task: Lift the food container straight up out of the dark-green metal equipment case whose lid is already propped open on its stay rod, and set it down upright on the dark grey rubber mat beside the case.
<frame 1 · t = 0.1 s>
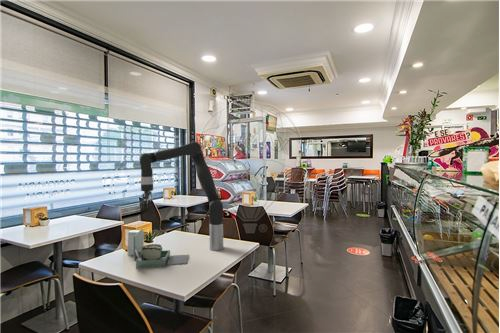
hand: (147, 208, 172), 29 cm above the table, fingers open, 8 cm apart
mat: (178, 260, 158), on the table
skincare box: (135, 254, 170), on the table
food container: (154, 262, 155), resting in case
case: (154, 262, 155), on the table
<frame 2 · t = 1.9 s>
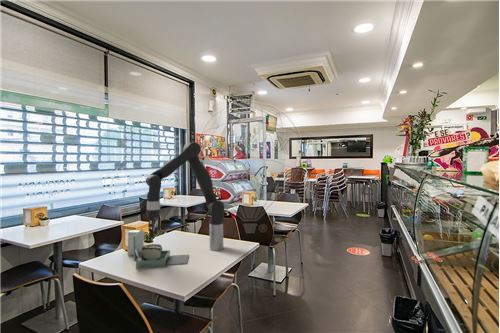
hand: (153, 235, 155), 16 cm above the table, fingers open, 8 cm apart
nothing on the table moved.
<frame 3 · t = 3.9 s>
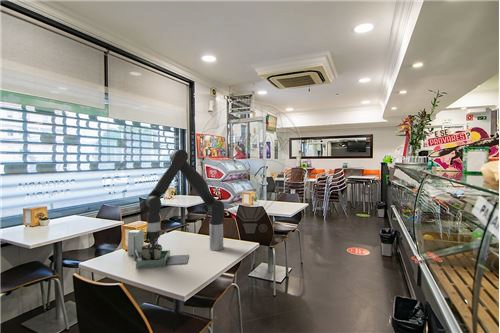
hand: (153, 257, 155), 3 cm above the table, fingers closed on food container, 5 cm apart
food container: (153, 262, 155), resting in case, touching gripper
everything else where it was.
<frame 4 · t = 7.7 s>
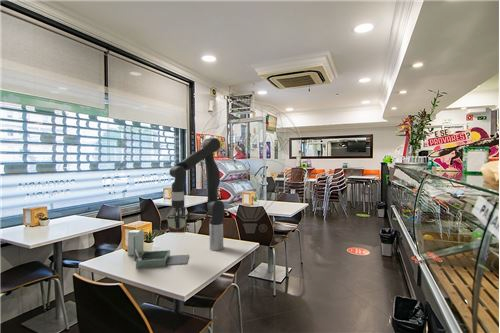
hand: (178, 226, 158), 20 cm above the table, fingers closed on food container, 5 cm apart
food container: (178, 231, 159), point 17 cm above the table, touching gripper
everything else where it was.
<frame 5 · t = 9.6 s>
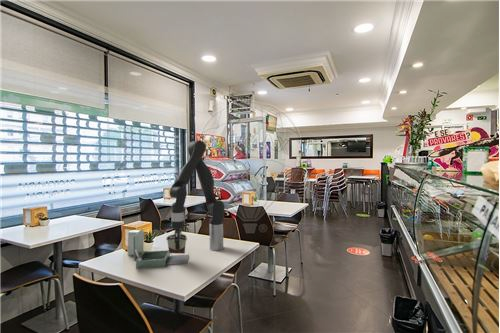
hand: (178, 247, 158), 8 cm above the table, fingers closed on food container, 5 cm apart
food container: (178, 251, 159), point 5 cm above the table, touching gripper
everything else where it was.
when the fingers open (4 cm above the table, at t = 11.4 s): food container stays where it is, resting on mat.
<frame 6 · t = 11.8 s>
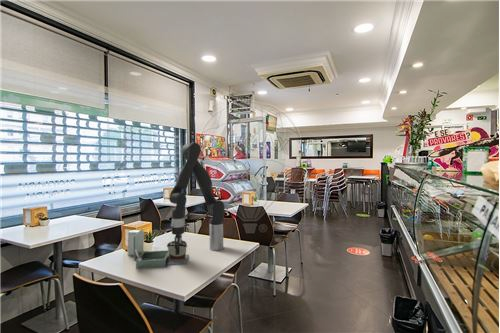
hand: (178, 252, 158), 5 cm above the table, fingers open, 8 cm apart
food container: (179, 257, 160), point 1 cm above the table, touching gripper, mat
everything else where it was.
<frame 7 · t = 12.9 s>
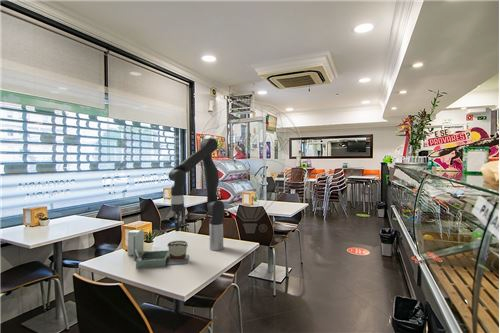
hand: (178, 229, 158), 19 cm above the table, fingers open, 8 cm apart
food container: (179, 258, 160), resting on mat
everything else where it was.
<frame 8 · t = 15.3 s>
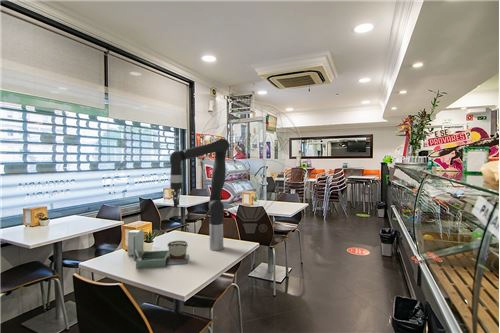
hand: (176, 206, 173), 30 cm above the table, fingers open, 8 cm apart
nothing on the table moved.
at the end: food container inside the target area on the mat (1.8 cm from its centre), point 0.4 cm above the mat's base; food container tilted 0°; the gripper is holding nothing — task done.
